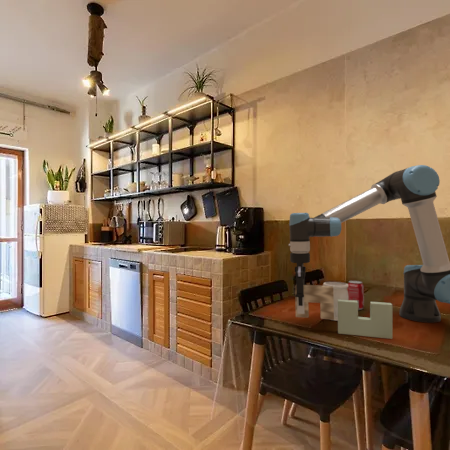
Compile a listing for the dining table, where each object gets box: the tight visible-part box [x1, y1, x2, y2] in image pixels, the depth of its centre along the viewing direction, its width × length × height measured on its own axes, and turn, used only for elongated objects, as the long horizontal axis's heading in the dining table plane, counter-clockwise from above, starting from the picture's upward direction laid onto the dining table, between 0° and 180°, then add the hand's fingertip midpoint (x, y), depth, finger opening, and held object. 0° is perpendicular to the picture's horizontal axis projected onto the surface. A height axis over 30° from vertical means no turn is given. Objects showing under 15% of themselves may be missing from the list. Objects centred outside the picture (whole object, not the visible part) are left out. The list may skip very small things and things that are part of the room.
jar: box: [322, 281, 349, 322], centre depth 131 cm, size 11×10×15 cm
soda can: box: [347, 280, 365, 311], centre depth 146 cm, size 7×7×13 cm
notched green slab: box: [337, 299, 393, 340], centre depth 111 cm, size 18×3×12 cm, turn 72°
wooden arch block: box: [294, 284, 335, 321], centre depth 116 cm, size 14×3×12 cm, turn 72°
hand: (301, 312), depth 118 cm, fingers closed on wooden arch block, 3 cm apart
